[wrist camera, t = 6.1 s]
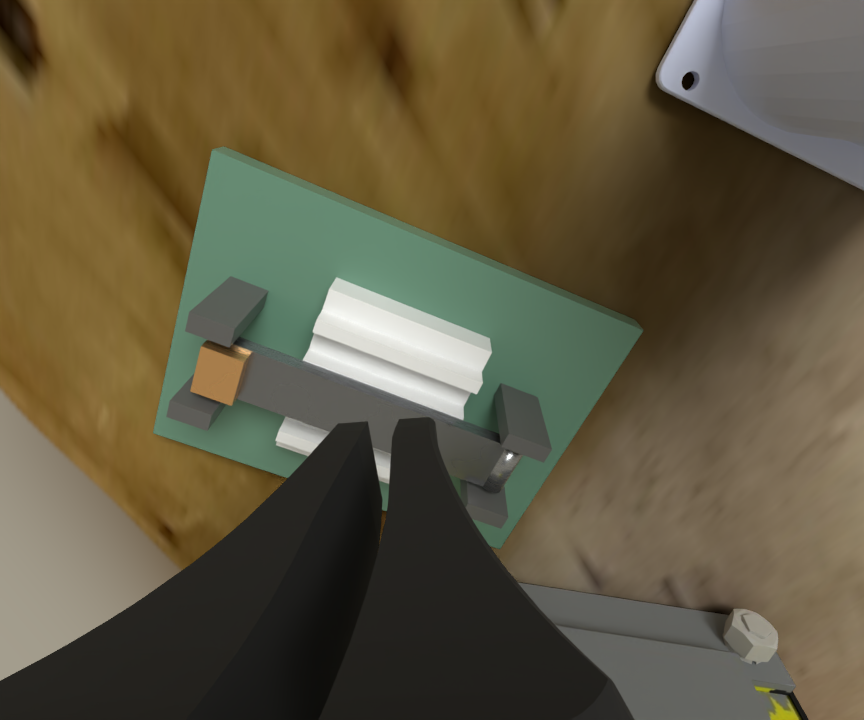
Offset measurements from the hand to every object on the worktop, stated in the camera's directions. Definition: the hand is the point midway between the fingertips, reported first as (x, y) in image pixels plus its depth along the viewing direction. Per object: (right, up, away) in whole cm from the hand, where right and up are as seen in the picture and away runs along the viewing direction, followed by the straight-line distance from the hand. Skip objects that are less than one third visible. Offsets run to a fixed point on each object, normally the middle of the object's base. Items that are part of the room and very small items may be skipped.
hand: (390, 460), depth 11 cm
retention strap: (-1, 0, +8) cm, 8 cm away
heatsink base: (-1, +1, +11) cm, 11 cm away
